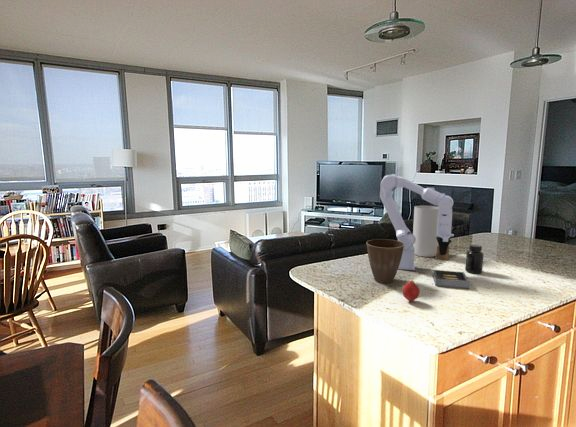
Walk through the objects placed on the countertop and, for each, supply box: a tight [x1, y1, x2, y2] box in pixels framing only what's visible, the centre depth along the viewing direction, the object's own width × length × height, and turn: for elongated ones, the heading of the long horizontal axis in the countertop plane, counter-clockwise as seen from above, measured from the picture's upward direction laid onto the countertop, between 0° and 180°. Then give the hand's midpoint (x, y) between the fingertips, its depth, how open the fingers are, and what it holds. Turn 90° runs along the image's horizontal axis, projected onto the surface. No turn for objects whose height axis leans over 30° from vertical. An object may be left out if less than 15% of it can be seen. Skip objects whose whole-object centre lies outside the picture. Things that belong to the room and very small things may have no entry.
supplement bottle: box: [464, 244, 485, 275], centre depth 158 cm, size 7×7×12 cm
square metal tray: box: [432, 269, 470, 290], centre depth 145 cm, size 12×12×3 cm
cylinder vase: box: [412, 205, 439, 258], centre depth 186 cm, size 12×12×25 cm
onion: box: [401, 279, 421, 303], centre depth 126 cm, size 6×6×8 cm
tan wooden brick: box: [435, 246, 450, 262], centre depth 156 cm, size 5×2×6 cm, turn 73°
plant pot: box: [366, 238, 404, 284], centre depth 147 cm, size 15×15×16 cm
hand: (442, 254), depth 156 cm, fingers closed on tan wooden brick, 1 cm apart
